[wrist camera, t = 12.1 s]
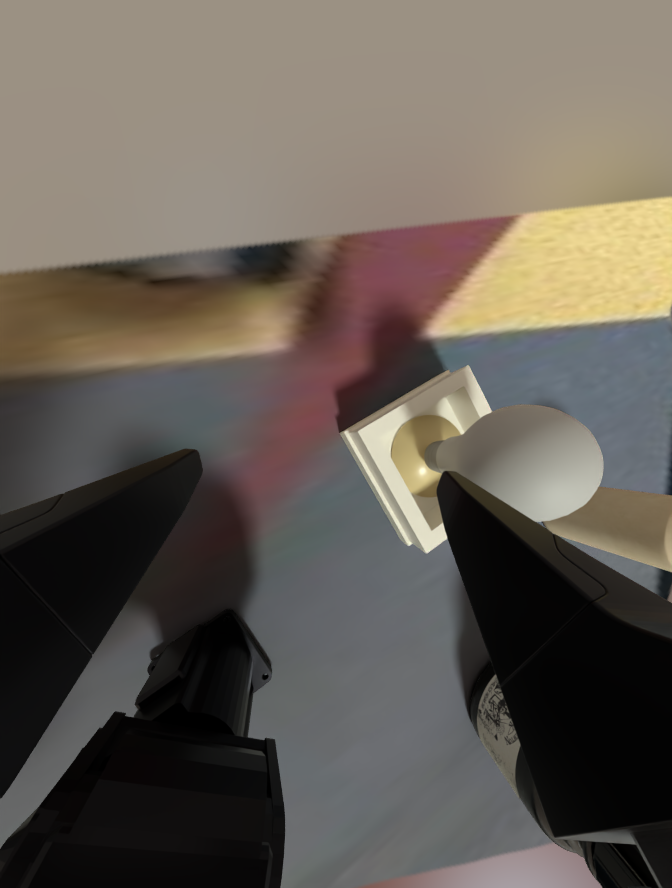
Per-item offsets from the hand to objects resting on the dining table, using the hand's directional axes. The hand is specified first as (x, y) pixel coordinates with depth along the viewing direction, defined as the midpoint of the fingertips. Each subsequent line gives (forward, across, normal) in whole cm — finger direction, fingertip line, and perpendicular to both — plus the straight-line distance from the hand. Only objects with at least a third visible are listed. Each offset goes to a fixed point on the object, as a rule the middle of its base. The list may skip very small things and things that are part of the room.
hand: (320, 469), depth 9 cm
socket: (+12, -8, +6) cm, 16 cm away
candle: (+13, -24, +12) cm, 30 cm away
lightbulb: (+11, -9, +5) cm, 15 cm away
